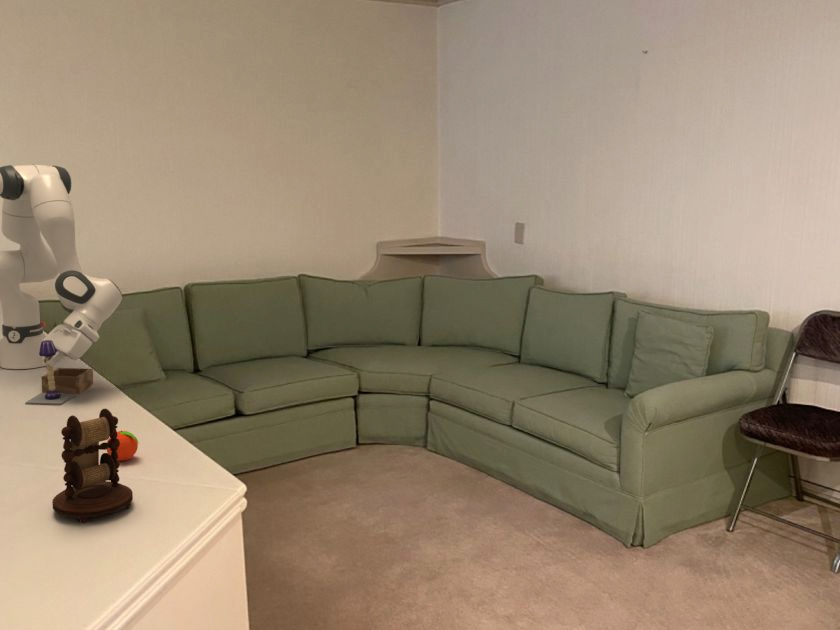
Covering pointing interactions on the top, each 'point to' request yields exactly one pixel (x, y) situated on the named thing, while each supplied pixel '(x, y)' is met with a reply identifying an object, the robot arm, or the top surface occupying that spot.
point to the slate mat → (42, 400)
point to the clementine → (125, 445)
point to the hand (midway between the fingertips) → (46, 363)
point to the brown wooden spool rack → (91, 469)
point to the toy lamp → (49, 367)
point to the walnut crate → (69, 380)
